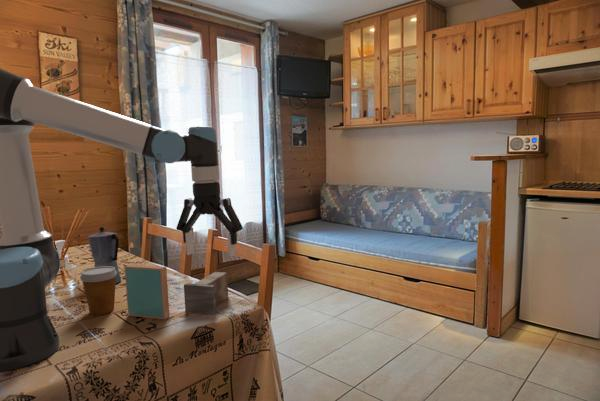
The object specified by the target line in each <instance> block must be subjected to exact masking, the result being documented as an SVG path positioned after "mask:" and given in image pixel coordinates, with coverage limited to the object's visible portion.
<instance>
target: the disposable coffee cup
mask: <svg viewBox="0 0 600 401" xmlns="http://www.w3.org/2000/svg"><path fill="white" fill-rule="evenodd" d="M116 274H117V271H116V269H115V267H112V266H101V267H91V268H88V269H84V270H82V272H81V274H80V277H79V279H80V280H81V282H82V285H83V286H82V287H83V289H84V294H85V298H86V303H87V306H88V310H89V314H90V315H93V316H95V315H96V316H100V315H104V314H108V313H111V312H112V311H114V310H115V299H116V297H115V296H116V284H115V282H116Z"/></svg>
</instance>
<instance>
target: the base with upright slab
mask: <svg viewBox="0 0 600 401" xmlns="http://www.w3.org/2000/svg"><path fill="white" fill-rule="evenodd" d="M54 241H55V245H56V248H57V250H58V252H59V254H61V252H62V248H63V246H64V243H65V241H66V242H67V240H65V239H64V240H63V239H59V240H54ZM69 258H70V257H69V255H68V253H66V255H65V258H64V260H65V262H67V263H69V264H70V260H69Z"/></svg>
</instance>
